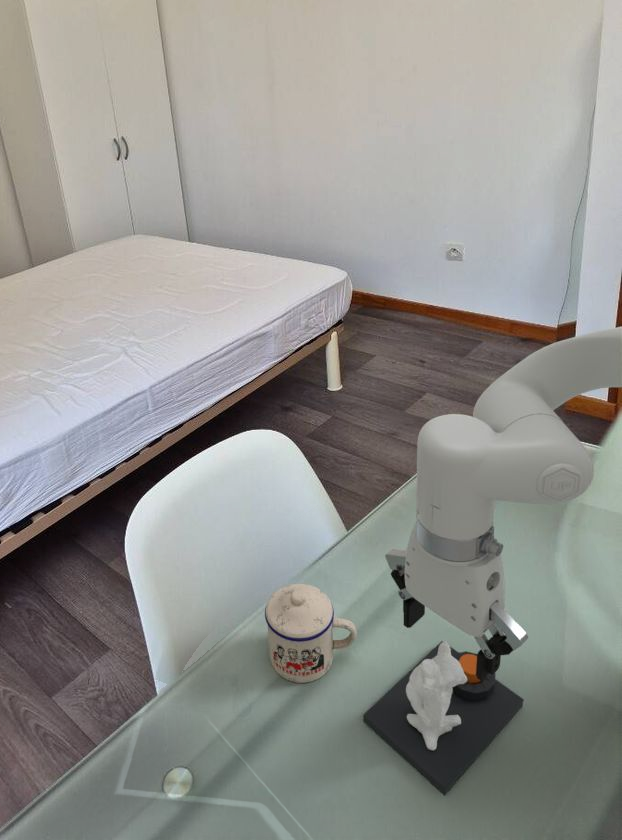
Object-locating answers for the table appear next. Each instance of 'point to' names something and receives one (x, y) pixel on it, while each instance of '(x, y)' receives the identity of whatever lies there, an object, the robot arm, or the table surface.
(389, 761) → the table surface
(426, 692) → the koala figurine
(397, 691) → the black push button board
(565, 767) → the table surface
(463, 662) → the button
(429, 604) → the robot arm
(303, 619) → the teacup with lid
